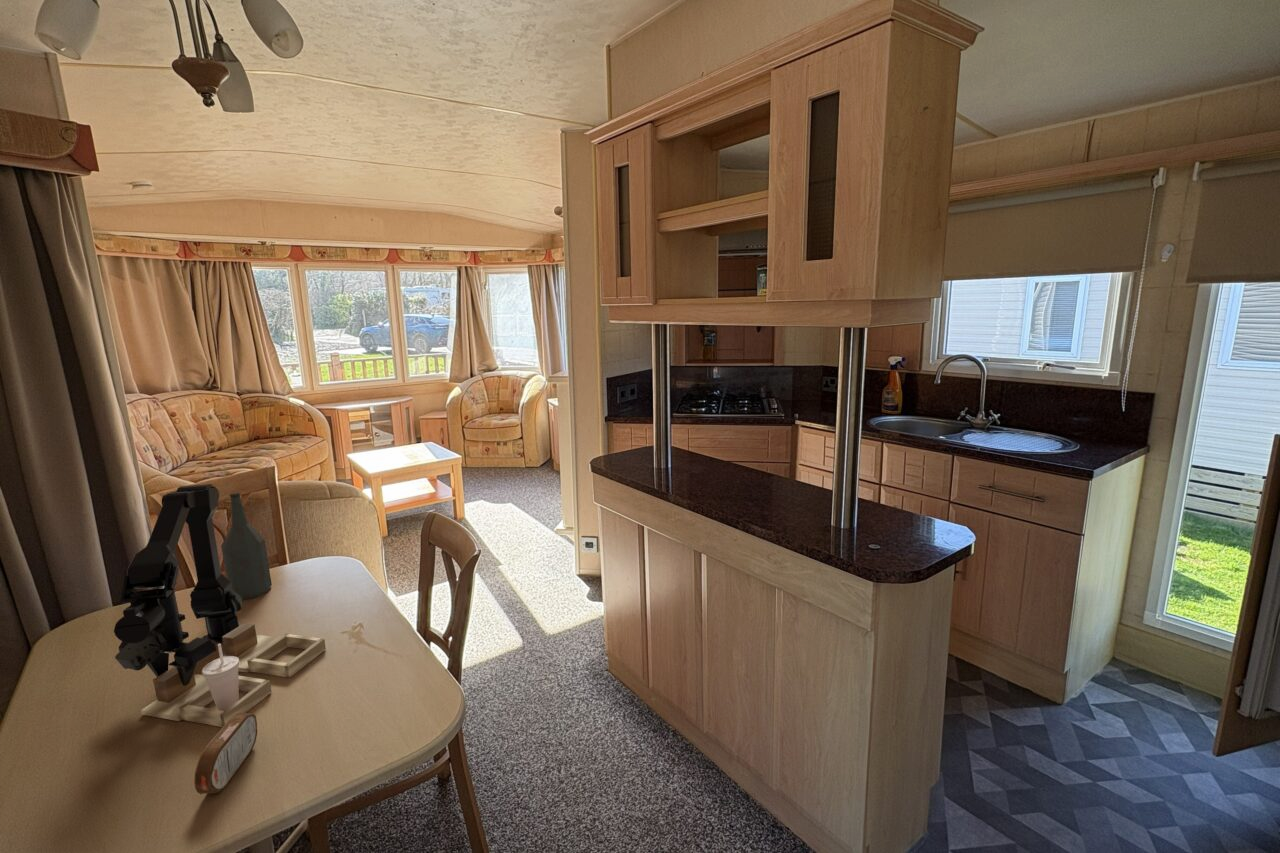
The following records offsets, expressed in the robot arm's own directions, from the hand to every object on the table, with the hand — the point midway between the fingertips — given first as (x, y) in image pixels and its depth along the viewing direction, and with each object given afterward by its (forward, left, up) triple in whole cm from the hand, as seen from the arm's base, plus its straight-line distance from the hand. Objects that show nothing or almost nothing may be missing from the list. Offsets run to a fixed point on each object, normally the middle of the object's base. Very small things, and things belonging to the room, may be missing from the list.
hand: (175, 682), depth 126 cm
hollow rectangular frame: (+8, +16, -4) cm, 18 cm away
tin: (+29, -14, -4) cm, 32 cm away
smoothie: (+13, 0, -4) cm, 14 cm away
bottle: (-24, +42, -4) cm, 48 cm away
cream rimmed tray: (+8, 0, -4) cm, 9 cm away
